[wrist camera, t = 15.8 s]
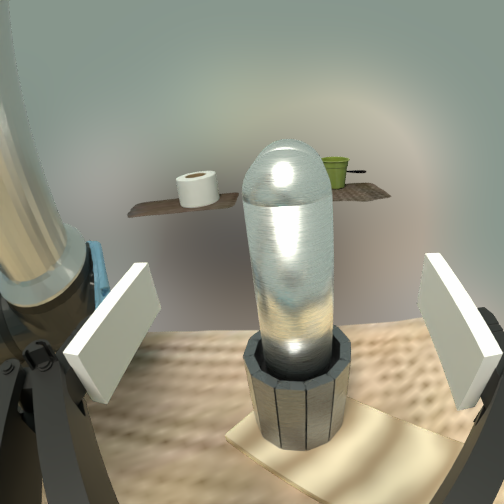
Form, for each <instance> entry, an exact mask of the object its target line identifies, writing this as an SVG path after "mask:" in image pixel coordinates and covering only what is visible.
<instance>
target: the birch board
mask: <svg viewBox="0 0 504 504" xmlns="http://www.w3.org/2000/svg"><path fill="white" fill-rule="evenodd" d="M225 438H226V440H227V442H229V443H230V444H231V445H233V446H234V447H235V448H237V449H238V450H239V451H241V452H242V453H243V454H245V455H246V456H248V457H249V458H250V459H252V460H253V461H255V462H256V463H258V464H259V465H261V466H262V467H264V468H265V469H266V470H268V471H269V472H271V473H273V474H274V475H276V476H277V477H279V478H280V479H282V480H283V481H285V482H286V483H288V484H290V485H291V486H293V487H295V488H296V489H298V490H299V491H301V492H303V493H305V494H306V495H308V496H310V497H311V498H313V499H315V500H317V501H318V502H320V503H322V504H429V503H430V501H431V500H432V498H433V497H434V495H435V494H436V492H437V490H438V489H439V487H440V486H441V484H442V483H443V481H444V479H445V478H446V476H447V474H448V473H449V471H450V469H451V467H452V466H453V464H454V462H455V460H456V459H457V457H458V455H459V453H460V451H461V449H462V447H463V446H464V444H465V443H462V442H459V441H456V440H453V439H450V438H448V437H445V436H442V435H439V434H437V433H434V432H431V431H429V430H426V429H423V428H421V427H418V426H416V425H413V424H411V423H408V422H406V421H403V420H401V419H398V418H396V417H393V416H391V415H388V414H386V413H384V412H381V411H379V410H377V409H374V408H372V407H370V406H367V405H365V404H363V403H361V402H358V401H356V400H354V399H352V398H349V397H347V396H346V403H345V410H344V416H343V423H342V427H341V428H340V429H339V431H338V432H337V433H336V434H335V435H334V437H333V438H332V439H331V440H330V441H329V442H328V443H326V444H324V445H321V446H319V447H316V448H314V449H311V450H309V451H306V450H305V451H292V450H282V448H281V449H280V448H278V447H277V446H275V445H273V444H272V443H270V442H269V441H267V440H266V439H264V438H263V437H262V434H261V432H260V430H259V427H258V425H257V422H256V419H255V414H254V410H253V411H252V412H251V413H250V414H249V415H247V416H246V417H245V418H244V419H243V420H242V421H241V422H239V423H238V424H237V425H236V426H235V427H233V428H232V429H231V430H230V431H229V432H228V433H226V434H225Z"/></svg>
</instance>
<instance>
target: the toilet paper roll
mask: <svg viewBox="0 0 504 504" xmlns="http://www.w3.org/2000/svg"><path fill="white" fill-rule="evenodd" d="M176 182H177V188H178V194H179V199H180V205H181V206H182V207H186V208H194V207H202V206H206V205H209V204H212V203H215V202H216V201H218V200H219V192H218V184H217V178H216V173H215V172H213V171H201V172H194V173H189V174H185V175H182V176H180V177H178V178H177V179H176Z"/></svg>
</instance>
